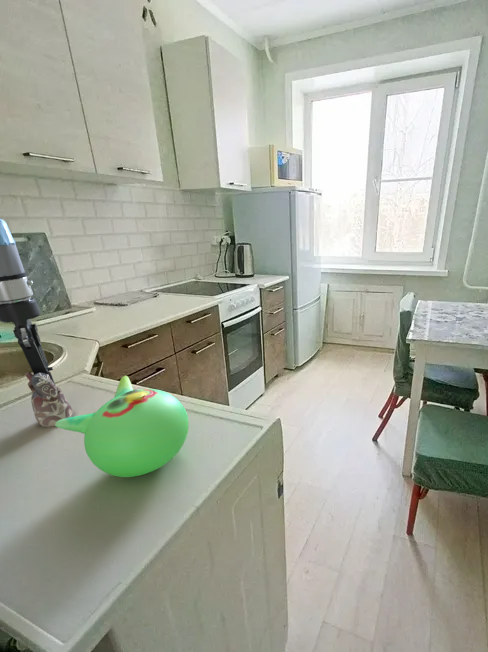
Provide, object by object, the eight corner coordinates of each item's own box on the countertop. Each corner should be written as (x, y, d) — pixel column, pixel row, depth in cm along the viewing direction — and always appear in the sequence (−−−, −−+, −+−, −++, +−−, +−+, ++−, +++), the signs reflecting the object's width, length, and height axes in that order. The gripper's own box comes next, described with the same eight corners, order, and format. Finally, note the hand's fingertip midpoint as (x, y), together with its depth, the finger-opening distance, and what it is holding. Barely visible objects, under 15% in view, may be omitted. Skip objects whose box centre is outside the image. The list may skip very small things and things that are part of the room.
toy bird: (149, 505, 56) (127, 426, 50) (71, 483, 61) (42, 410, 55) (209, 442, 71) (198, 375, 65) (142, 429, 77) (126, 366, 70)
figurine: (53, 430, 79) (32, 386, 72) (30, 422, 81) (7, 378, 74) (79, 411, 84) (62, 369, 77) (57, 404, 86) (38, 362, 79)
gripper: (33, 302, 70) (72, 405, 81) (36, 292, 80) (70, 384, 91) (-13, 309, 67) (33, 415, 77) (-5, 297, 77) (35, 392, 87)
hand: (53, 398), depth 84 cm, fingers closed
